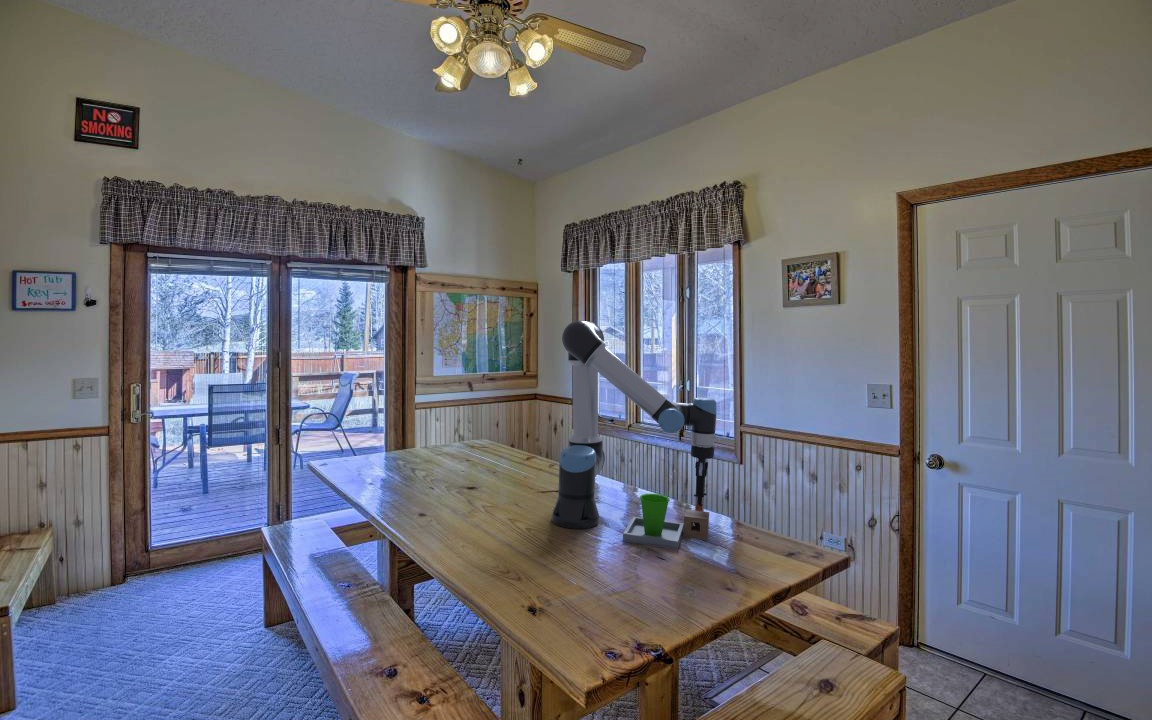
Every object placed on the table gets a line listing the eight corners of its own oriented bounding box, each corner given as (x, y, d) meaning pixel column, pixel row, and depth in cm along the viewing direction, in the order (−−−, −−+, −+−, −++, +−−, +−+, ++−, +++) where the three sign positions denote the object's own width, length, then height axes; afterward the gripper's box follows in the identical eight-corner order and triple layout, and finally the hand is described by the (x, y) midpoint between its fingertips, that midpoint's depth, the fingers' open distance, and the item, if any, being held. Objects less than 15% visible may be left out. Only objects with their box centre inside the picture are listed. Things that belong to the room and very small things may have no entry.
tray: (622, 541, 160) (623, 533, 160) (633, 523, 175) (633, 516, 175) (677, 549, 155) (678, 541, 155) (683, 530, 170) (683, 523, 170)
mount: (685, 529, 172) (686, 509, 171) (708, 532, 169) (709, 512, 169) (683, 536, 165) (684, 516, 165) (706, 540, 163) (707, 519, 162)
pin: (695, 518, 178) (696, 503, 178) (702, 519, 177) (703, 504, 177) (692, 529, 168) (693, 512, 168) (700, 530, 168) (700, 513, 167)
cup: (667, 540, 160) (669, 503, 159) (637, 537, 161) (638, 500, 161) (668, 529, 169) (670, 495, 168) (639, 526, 170) (640, 492, 170)
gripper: (713, 450, 171) (709, 523, 173) (715, 442, 184) (711, 510, 185) (689, 447, 174) (685, 520, 175) (692, 440, 186) (689, 508, 187)
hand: (699, 515), depth 180 cm, fingers closed
